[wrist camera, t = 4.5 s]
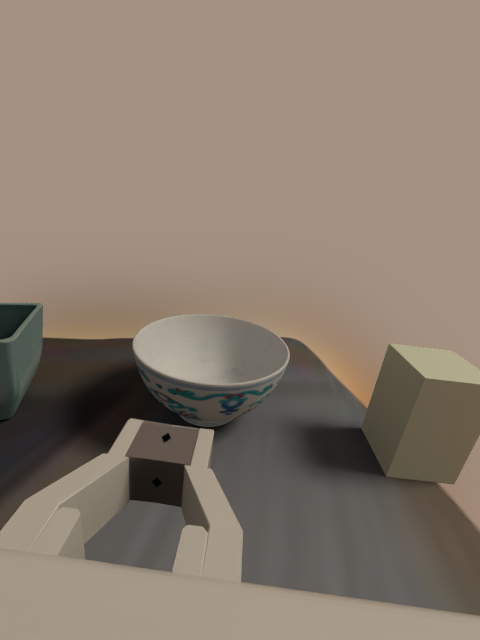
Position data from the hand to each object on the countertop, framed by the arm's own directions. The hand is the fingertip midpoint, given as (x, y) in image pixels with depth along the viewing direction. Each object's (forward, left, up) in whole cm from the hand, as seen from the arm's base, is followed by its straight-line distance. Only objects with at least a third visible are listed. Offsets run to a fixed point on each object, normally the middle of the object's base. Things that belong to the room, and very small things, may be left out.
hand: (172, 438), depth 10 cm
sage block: (-7, -23, -12) cm, 27 cm away
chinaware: (+11, -14, -13) cm, 22 cm away
